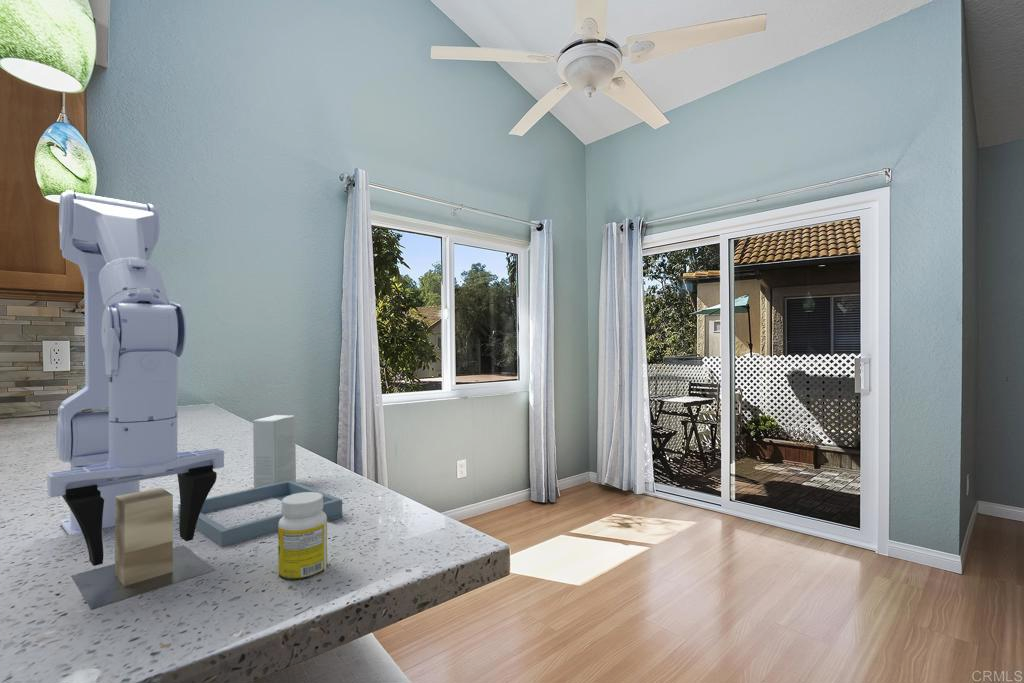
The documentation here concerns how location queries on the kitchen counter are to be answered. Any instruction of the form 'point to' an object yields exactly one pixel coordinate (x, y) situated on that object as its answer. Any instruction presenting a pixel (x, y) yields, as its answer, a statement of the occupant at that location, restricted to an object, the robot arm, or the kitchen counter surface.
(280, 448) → the skincare box
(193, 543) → the kitchen counter surface
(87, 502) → the robot arm
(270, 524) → the bin
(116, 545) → the strut
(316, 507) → the supplement bottle
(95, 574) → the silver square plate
